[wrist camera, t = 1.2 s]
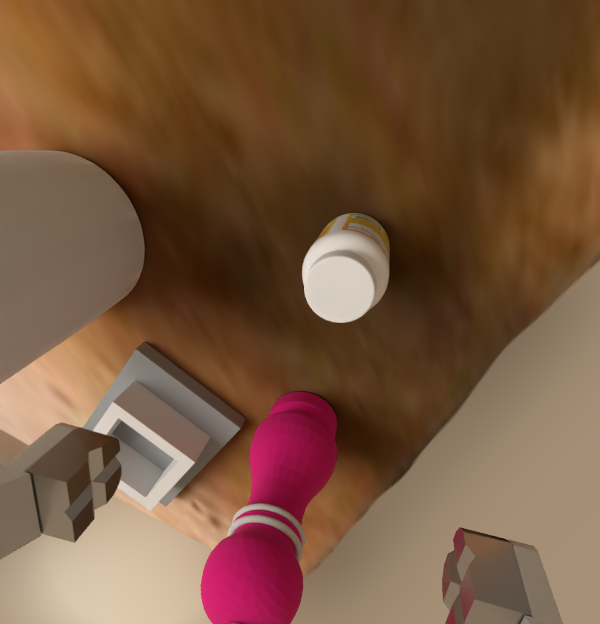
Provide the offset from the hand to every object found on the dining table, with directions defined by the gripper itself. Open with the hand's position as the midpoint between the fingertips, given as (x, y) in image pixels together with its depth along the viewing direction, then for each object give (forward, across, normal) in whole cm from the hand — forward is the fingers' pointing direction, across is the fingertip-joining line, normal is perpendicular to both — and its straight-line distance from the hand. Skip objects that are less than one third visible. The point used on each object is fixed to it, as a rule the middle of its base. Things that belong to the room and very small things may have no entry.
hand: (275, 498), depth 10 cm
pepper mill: (+25, +3, +17) cm, 30 cm away
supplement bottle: (+25, +1, 0) cm, 25 cm away
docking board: (+25, +17, +21) cm, 37 cm away
